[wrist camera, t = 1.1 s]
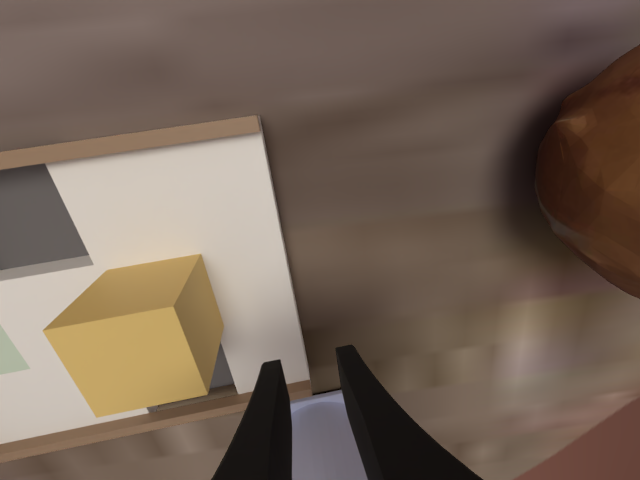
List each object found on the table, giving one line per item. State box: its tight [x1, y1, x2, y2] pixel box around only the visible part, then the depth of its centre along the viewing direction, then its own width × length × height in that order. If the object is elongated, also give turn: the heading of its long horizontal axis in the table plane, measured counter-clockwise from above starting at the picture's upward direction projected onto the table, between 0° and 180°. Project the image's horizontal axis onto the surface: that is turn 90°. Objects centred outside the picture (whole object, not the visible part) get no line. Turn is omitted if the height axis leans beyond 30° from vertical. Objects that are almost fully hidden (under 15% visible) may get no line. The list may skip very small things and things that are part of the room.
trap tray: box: [0, 115, 312, 463], centre depth 17 cm, size 18×22×4 cm
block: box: [42, 254, 224, 418], centre depth 15 cm, size 5×5×5 cm
